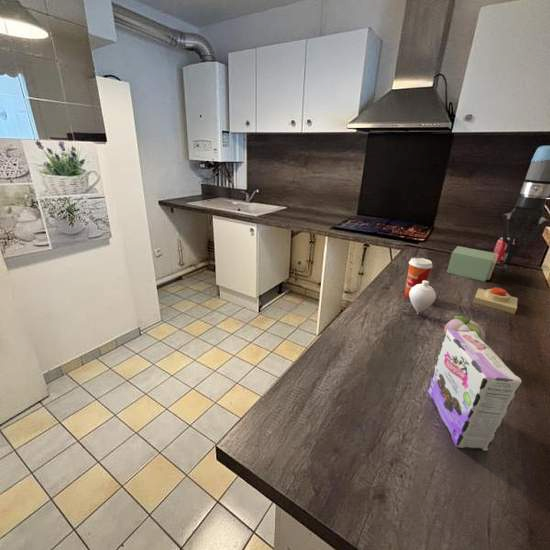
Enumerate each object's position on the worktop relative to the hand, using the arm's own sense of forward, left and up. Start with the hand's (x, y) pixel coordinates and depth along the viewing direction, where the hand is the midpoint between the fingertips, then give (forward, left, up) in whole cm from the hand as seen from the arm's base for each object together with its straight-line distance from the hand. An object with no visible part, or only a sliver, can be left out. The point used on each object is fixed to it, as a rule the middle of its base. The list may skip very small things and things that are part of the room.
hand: (507, 262), depth 106 cm
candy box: (+2, +75, -13) cm, 76 cm away
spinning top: (+19, +37, -13) cm, 44 cm away
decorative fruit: (+5, +49, -13) cm, 51 cm away
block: (0, +9, -13) cm, 16 cm away
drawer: (+8, -18, -12) cm, 23 cm away
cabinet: (+12, -18, -13) cm, 25 cm away
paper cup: (+24, +24, -13) cm, 36 cm away
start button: (0, +9, -10) cm, 13 cm away
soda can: (+2, -47, -13) cm, 49 cm away
